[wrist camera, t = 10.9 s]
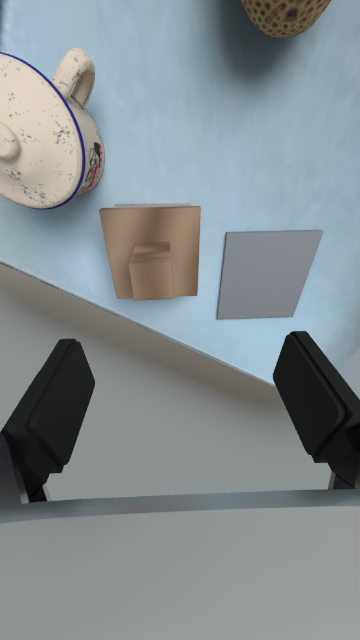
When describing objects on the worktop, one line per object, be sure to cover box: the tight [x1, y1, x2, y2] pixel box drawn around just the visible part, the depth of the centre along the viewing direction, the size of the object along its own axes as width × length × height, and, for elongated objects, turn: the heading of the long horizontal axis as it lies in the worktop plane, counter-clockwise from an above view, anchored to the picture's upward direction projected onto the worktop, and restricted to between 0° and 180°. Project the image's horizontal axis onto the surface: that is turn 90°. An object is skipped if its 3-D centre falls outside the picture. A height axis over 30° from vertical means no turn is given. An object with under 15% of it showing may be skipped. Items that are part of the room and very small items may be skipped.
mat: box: [217, 230, 323, 320], centre depth 34 cm, size 13×14×1 cm
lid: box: [99, 206, 201, 300], centre depth 23 cm, size 10×10×7 cm
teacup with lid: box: [0, 47, 105, 209], centre depth 18 cm, size 12×9×12 cm
